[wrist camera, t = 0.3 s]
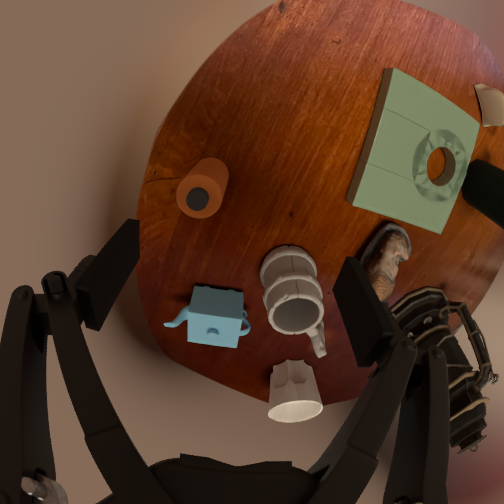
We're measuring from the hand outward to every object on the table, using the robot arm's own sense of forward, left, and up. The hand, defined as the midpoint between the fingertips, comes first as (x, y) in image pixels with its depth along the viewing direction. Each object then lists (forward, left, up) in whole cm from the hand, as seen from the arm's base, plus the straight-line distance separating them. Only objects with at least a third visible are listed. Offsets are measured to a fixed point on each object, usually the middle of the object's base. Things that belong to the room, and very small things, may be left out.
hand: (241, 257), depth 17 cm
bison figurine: (+6, +21, -18) cm, 28 cm away
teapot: (+19, -1, -18) cm, 26 cm away
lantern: (+17, +37, -18) cm, 44 cm away
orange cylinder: (0, -4, -18) cm, 18 cm away
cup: (+35, +17, -18) cm, 43 cm away
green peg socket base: (-10, +21, -18) cm, 29 cm away
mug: (+12, +10, -18) cm, 24 cm away
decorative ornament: (-23, +32, -18) cm, 43 cm away
